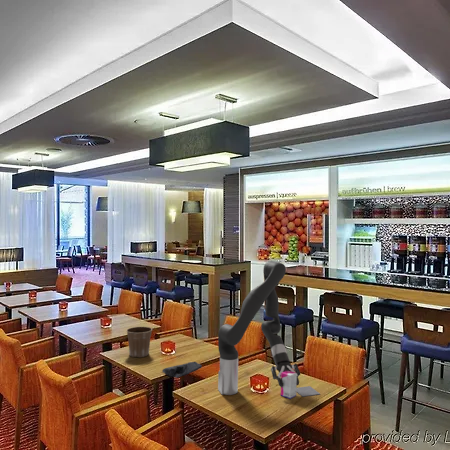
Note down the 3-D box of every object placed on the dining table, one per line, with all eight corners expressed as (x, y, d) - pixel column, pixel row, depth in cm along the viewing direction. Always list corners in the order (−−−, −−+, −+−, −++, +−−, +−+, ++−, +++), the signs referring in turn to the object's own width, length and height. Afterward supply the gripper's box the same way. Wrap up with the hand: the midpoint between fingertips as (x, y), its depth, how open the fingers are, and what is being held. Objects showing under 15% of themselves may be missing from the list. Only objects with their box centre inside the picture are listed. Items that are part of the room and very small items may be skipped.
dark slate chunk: (205, 370, 235) (206, 362, 235) (175, 380, 220) (175, 371, 220) (189, 363, 246) (189, 355, 246) (159, 372, 231) (159, 363, 231)
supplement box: (296, 395, 201) (297, 372, 201) (290, 399, 196) (290, 375, 196) (286, 392, 205) (287, 369, 205) (280, 395, 200) (280, 372, 200)
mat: (302, 396, 200) (302, 396, 200) (292, 388, 209) (292, 388, 209) (320, 394, 203) (320, 393, 203) (309, 386, 212) (309, 386, 212)
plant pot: (120, 354, 259) (121, 329, 259) (141, 349, 271) (142, 325, 271) (135, 360, 248) (136, 334, 248) (156, 354, 260) (157, 329, 260)
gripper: (269, 352, 206) (279, 383, 195) (294, 350, 210) (305, 380, 199) (265, 359, 211) (274, 390, 200) (290, 357, 215) (300, 387, 204)
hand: (290, 385), depth 199 cm, fingers open, 8 cm apart
